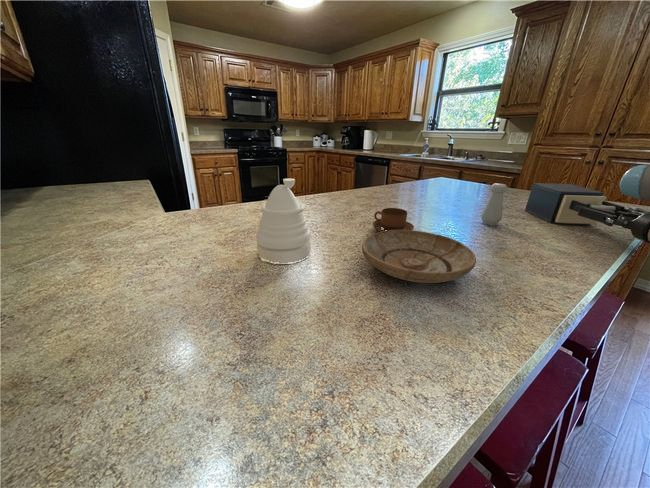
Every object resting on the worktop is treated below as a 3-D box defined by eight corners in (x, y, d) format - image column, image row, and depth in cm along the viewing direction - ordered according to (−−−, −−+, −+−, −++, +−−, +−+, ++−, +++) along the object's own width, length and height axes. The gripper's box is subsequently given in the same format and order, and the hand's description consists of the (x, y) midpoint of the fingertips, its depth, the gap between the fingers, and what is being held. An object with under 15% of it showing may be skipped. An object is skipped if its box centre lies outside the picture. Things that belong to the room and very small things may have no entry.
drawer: (612, 230, 80) (625, 202, 77) (571, 229, 81) (582, 200, 78) (565, 212, 98) (574, 188, 95) (532, 211, 99) (539, 187, 96)
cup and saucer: (370, 236, 77) (372, 215, 74) (373, 223, 88) (375, 204, 85) (414, 240, 74) (417, 219, 72) (411, 226, 85) (414, 207, 83)
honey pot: (317, 246, 70) (317, 176, 63) (300, 268, 59) (297, 186, 52) (272, 240, 73) (267, 173, 66) (247, 260, 62) (238, 182, 55)
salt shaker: (503, 226, 85) (515, 186, 80) (485, 226, 85) (496, 185, 80) (493, 221, 91) (503, 182, 86) (476, 220, 91) (485, 182, 86)
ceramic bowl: (498, 282, 54) (504, 260, 52) (401, 308, 46) (405, 283, 44) (420, 241, 74) (423, 223, 72) (343, 253, 66) (344, 234, 64)
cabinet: (590, 224, 88) (604, 192, 84) (549, 222, 89) (561, 191, 85) (559, 212, 102) (570, 184, 97) (524, 210, 103) (533, 183, 99)
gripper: (608, 242, 65) (546, 215, 85) (705, 247, 63) (618, 217, 83) (622, 213, 62) (555, 191, 82) (724, 216, 60) (629, 194, 80)
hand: (586, 205), depth 83 cm, fingers closed on drawer, 8 cm apart
